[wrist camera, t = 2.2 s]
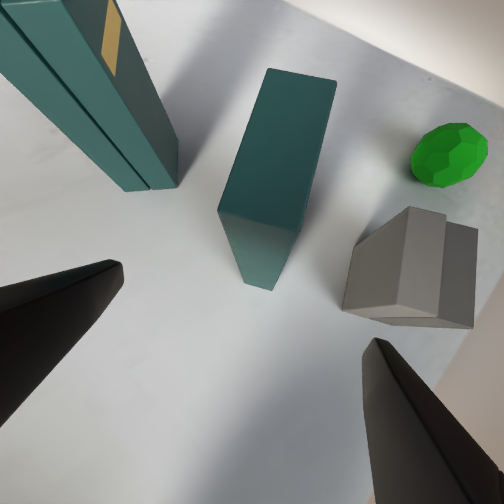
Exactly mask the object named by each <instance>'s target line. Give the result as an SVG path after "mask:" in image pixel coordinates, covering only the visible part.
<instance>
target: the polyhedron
mask: <svg viewBox="0 0 504 504" xmlns="http://www.w3.org/2000/svg"><path fill="white" fill-rule="evenodd" d="M487 155H488V147H487V139H486V138H485V137H483V136H482V135H481V134H480V133H479V132H477V131H476V130H475V129H474V128H472V127H471V126H470V125H468V124H467V123H449V124H445V125H442V126H439V127H437V128H435V129H434V130H432V131H430V132H429V133H427V134H425V135H424V136H423V138H422V140H421V141H420V143H419V144H418V146H417V148H416V149H415V151H414V153H413V155H412V156H411V158H410V162H411V171H412V173H413V175H414V176H415V177H416V178H417V179H418V180H420V181H421V182H422V183H423V184H425V185H427V186H431V187H439V188H444V187H447V186H450V185H453V184H456V183H458V182H461V181H463V180H466V179H468V178H470V177H472V176H473V175H474V174H475V172H476V171H477V170H478V169H479V167H480V166H481V165H482V164H483V162H484V160H485V158H486V156H487Z"/></svg>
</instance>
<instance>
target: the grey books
mask: <svg viewBox="0 0 504 504" xmlns="http://www.w3.org/2000/svg"><path fill="white" fill-rule="evenodd" d="M477 243H478V229H476V228H472V227H468V226H464V225H459V224H455V223H451V222H447V221H446V215H444V214H440V213H436V212H431V211H427V210H423V209H419V208H415V207H410V206H409V207H407V208H406V209H405V210H403V211H402V212H401V213H399V214H398V215H397V216H395V217H394V218H393V219H391V220H390V221H389V222H387V223H386V224H385V225H383V226H382V227H381V228H379V229H378V230H377V231H375V232H374V233H373V234H371V235H370V236H369V237H367V238H366V239H365V240H363V241H362V242H361V243H359V244H358V245H357V246H355V247H354V248H353V253H352V258H351V263H350V269H349V274H348V279H347V285H346V290H345V295H344V301H343V306H342V311H344V312H347V313H351V314H354V315H358V316H361V317H365V318H369V319H372V320H375V321H379V322H382V323H386V324H389V325H393V326H414V327H436V328H458V329H473V326H474V305H475V285H476V264H477Z"/></svg>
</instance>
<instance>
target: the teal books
mask: <svg viewBox="0 0 504 504" xmlns="http://www.w3.org/2000/svg"><path fill="white" fill-rule="evenodd" d="M0 73H1V74H2V75H3V76H4V77H5V78H6V79H8V80H9V81H10V82H11V83H12V84H13V85H14V86H15V87H16V88H17V89H18V90H19V91H20V92H21V93H22V94H23V95H24V96H25V97H26V98H27V99H28V100H30V101H31V102H32V103H33V104H34V105H35V106H36V107H37V108H38V109H39V110H40V111H41V112H42V113H43V114H44V115H45V116H46V117H47V118H48V119H49V120H50V121H51V122H53V123H54V124H55V125H56V126H57V127H58V128H59V129H60V130H61V131H62V132H63V133H64V134H65V135H66V136H67V137H68V138H69V139H70V140H71V141H72V142H73V143H75V144H76V145H77V146H78V147H79V148H80V149H81V150H82V151H83V152H84V153H85V154H86V155H87V156H88V157H89V158H90V159H91V160H92V161H93V162H94V163H95V164H96V165H98V166H99V167H100V168H101V169H102V170H103V171H104V172H105V173H106V174H107V175H108V176H109V177H110V178H111V179H112V180H113V181H114V182H115V183H116V184H117V185H118V186H119V187H121V188H122V189H123V190H124V191H125V192H130V191H144V190H150V187H151V189H152V190H157V189H170V188H177V176H178V138H177V136H176V134H175V132H174V129H173V127H172V125H171V123H170V120H169V118H168V116H167V114H166V111H165V109H164V107H163V105H162V103H161V100H160V98H159V96H158V94H157V91H156V89H155V87H154V85H153V82H152V80H151V78H150V76H149V74H148V71H147V69H146V67H145V65H144V62H143V60H142V58H141V56H140V53H139V51H138V49H137V47H136V44H135V42H134V40H133V38H132V36H131V33H130V31H129V29H128V27H127V24H126V22H125V20H124V18H123V15H122V13H121V11H120V9H119V6H118V4H117V2H116V0H0Z"/></svg>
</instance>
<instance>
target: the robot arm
mask: <svg viewBox="0 0 504 504" xmlns="http://www.w3.org/2000/svg"><path fill="white" fill-rule="evenodd" d="M123 283H124V274H123V266H122V263H121V262H119V261H115V260H112V259H108V260H104V261H100V262H96V263H93V264H89V265H85V266H81V267H77V268H73V269H69V270H66V271H62V272H58V273H54V274H50V275H46V276H42V277H38V278H35V279H31V280H27V281H23V282H19V283H15V284H11V285H7V286H4V287H0V427H1V426H2V425H3V424H4V423H5V422H6V421H7V420H8V418H9V417H10V416H11V415H12V414H13V413H14V412H15V411H16V410H17V408H18V407H19V406H20V405H21V404H22V403H23V402H24V401H25V400H26V399H27V397H28V396H29V395H30V394H31V393H32V392H33V391H34V390H35V389H36V387H37V386H38V385H39V384H40V383H41V382H42V381H43V380H44V379H45V377H46V376H47V375H48V374H49V373H50V372H51V371H52V370H53V369H54V368H55V366H56V365H57V364H58V363H59V362H60V361H61V360H62V359H63V358H64V356H65V355H66V354H67V353H68V352H69V351H70V350H71V349H72V348H73V346H74V345H75V344H76V343H77V342H78V341H79V340H80V339H81V338H82V337H83V335H84V334H85V333H86V332H87V331H88V330H89V329H90V328H91V327H92V325H93V324H94V323H95V322H96V321H97V319H98V318H99V317H100V316H101V314H102V313H103V312H104V310H105V309H106V308H107V306H108V305H109V304H110V302H111V301H112V300H113V298H114V297H115V295H116V294H117V293H118V291H119V290H120V289H121V287H122V286H123ZM362 384H363V409H364V418H365V426H366V433H367V441H368V448H369V456H370V464H371V471H372V479H373V486H374V494H375V500H376V501H375V502H376V504H504V473H503V472H502V471H499V469H498V467H497V465H496V464H495V463H494V462H493V461H492V460H491V459H490V457H489V456H488V455H487V454H486V453H485V452H484V450H483V449H482V448H481V447H480V446H479V445H478V444H477V442H476V441H475V440H474V439H473V438H472V437H471V436H470V434H469V433H468V432H467V431H466V430H465V429H464V427H462V425H461V424H460V423H459V422H458V421H457V420H456V418H455V417H454V416H453V415H452V414H451V412H450V411H449V410H448V409H447V408H446V407H445V406H444V405H443V403H442V402H441V401H440V400H439V399H438V398H437V396H436V395H435V394H434V393H433V392H432V391H431V389H430V388H429V387H428V386H427V385H426V384H425V383H424V381H423V380H422V379H421V378H420V377H419V376H418V375H417V373H416V372H415V371H414V370H413V369H412V368H411V367H410V365H409V364H408V363H407V362H406V361H405V360H404V358H403V357H402V356H401V355H400V354H399V353H398V352H397V350H396V349H395V348H394V347H393V346H392V345H391V344H390V342H388V341H386V340H383V339H380V338H373V339H372V341H371V342H370V344H369V345H368V347H367V348H366V350H365V351H364V353H363V356H362Z"/></svg>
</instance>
